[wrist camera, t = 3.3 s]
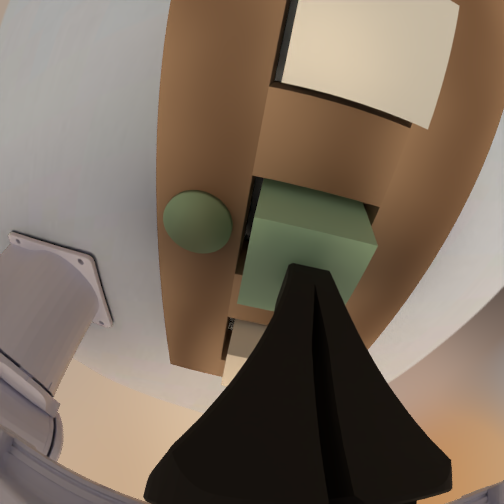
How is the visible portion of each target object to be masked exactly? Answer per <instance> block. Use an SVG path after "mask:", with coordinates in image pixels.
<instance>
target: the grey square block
mask: <svg viewBox="0 0 504 504" xmlns="http://www.w3.org/2000/svg"><path fill="white" fill-rule="evenodd" d="M458 12H459V5H457V4H456V3H454V2H452V1H451V0H299V1H298V6H297V10H296V15H295V20H294V25H293V29H292V34H291V39H290V44H289V49H288V53H287V58H286V63H285V68H284V73H283V77H282V83H287V84H291V85H296V86H300V87H305V88H309V89H313V90H317V91H321V92H324V93H328V94H332V95H335V96H338V97H342V98H345V99H348V100H352V101H355V102H358V103H361V104H364V105H367V106H370V107H373V108H376V109H378V110H381V111H384V112H387V113H389V114H392V115H394V116H397V117H400V118H402V119H404V120H407V121H409V122H412V123H414V124H416V125H419V126H421V127H423V128H425V129H428V128H429V125H430V122H431V119H432V116H433V113H434V110H435V107H436V103H437V100H438V97H439V94H440V90H441V87H442V83H443V80H444V76H445V72H446V68H447V65H448V61H449V56H450V52H451V48H452V43H453V39H454V34H455V29H456V24H457V18H458Z"/></svg>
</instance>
